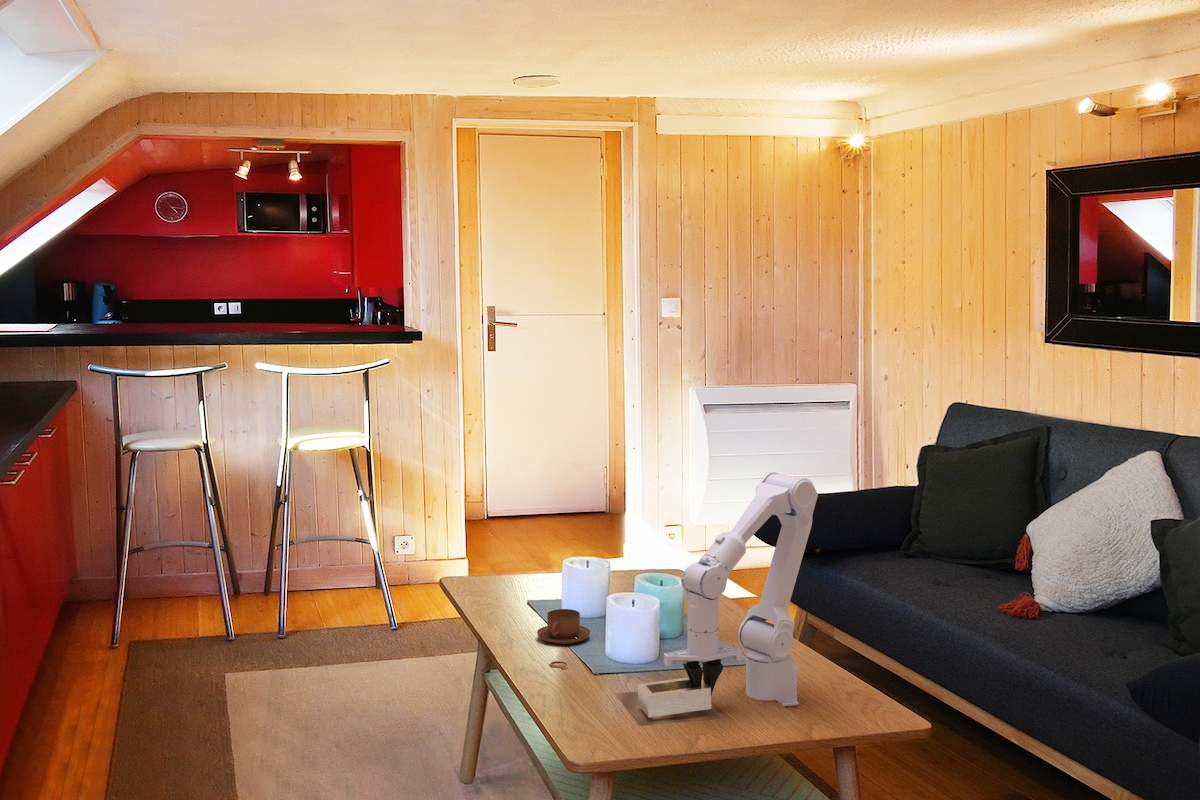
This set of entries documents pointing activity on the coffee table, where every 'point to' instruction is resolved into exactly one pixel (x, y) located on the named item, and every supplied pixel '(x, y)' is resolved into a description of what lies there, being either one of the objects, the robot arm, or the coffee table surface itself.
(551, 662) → the key
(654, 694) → the cream hollow block
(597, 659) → the coffee table surface
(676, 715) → the board
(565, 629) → the cup and saucer
